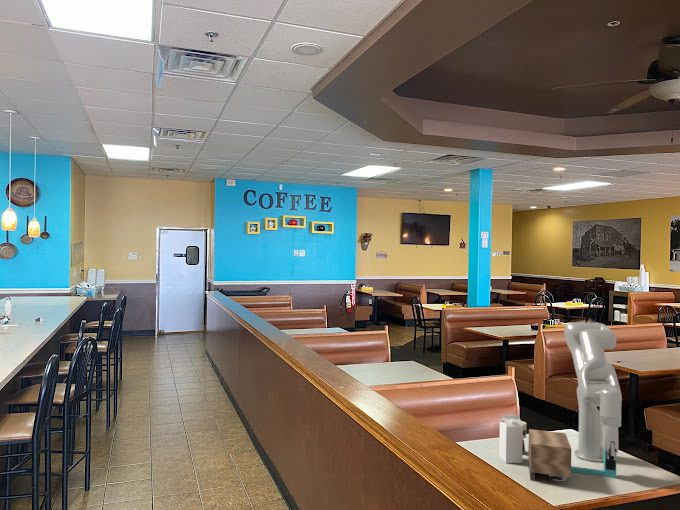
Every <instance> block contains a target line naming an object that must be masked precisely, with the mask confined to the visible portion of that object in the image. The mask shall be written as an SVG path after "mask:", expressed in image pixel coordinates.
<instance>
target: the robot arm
mask: <svg viewBox="0 0 680 510" xmlns="http://www.w3.org/2000/svg"><path fill="white" fill-rule="evenodd" d="M563 333H564V334H563V335H564V339H565V344H566V345H567V347H568V349H569V351H570V353H571V356H572V360H573V366H574V370H575V371H574V372H575V374H576V377H577V385H578V386H577V387H576V397H577V404H578V405H577V406H578V448H577V449H575V450H574V456H575V457H577V458H579V459H582V460H584V461H588V462H599V463H601V462H604V451H605V452H606V451H607V459H606V469H608V470H615V469H616V470H617V459H616V460H615V452H616V454H617V453H619V428H620V427H622V401H623V398H622V391H621V386H620V384H619V380H618V375H617V373H616V369H615V367H614V365H613V364H611V362H608V361H607V357H606V353H605V349H606V350H613V349H614V348H615V347H616V345H617V337H616V335H615V333H614V331H613V330H612V329H611V328H610V327H608V326H607V325H606V324H604V323H600V322H580V321H575V322H569V323H568V324H566V325H565V327H564V331H563ZM598 407H599V409H598ZM609 450H611V451H609ZM609 453H611V454H609Z"/></svg>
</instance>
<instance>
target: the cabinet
mask: <svg viewBox="0 0 680 510" xmlns="http://www.w3.org/2000/svg"><path fill="white" fill-rule="evenodd" d="M571 466H572V445H571V444H570V441H569V438H568V436H567V434H566V433H565V432H559V431H558V432H557V431H548V430H541V429H540V430H539V429H532V428H529V429H528V473H529V479H530V481H533V482H535V480H536V479H535V478H536V476H535V475H536V474H535V473H537V474H544V475H548V476H549V475H557V476H564V477H566V478H572V471H571Z"/></svg>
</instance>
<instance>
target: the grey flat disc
mask: <svg viewBox="0 0 680 510" xmlns="http://www.w3.org/2000/svg"><path fill="white" fill-rule="evenodd" d="M548 479H549V480H550V481H552V482H554V483H560V484H563V483H566V482H567V477H564V476H557V475H549V474H548Z"/></svg>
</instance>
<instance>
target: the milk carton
mask: <svg viewBox="0 0 680 510" xmlns="http://www.w3.org/2000/svg"><path fill="white" fill-rule="evenodd" d="M520 416H521V415H520V414H511V413H510V414H507V413H506V414H502V418H500V419H501V420H500V421H499V440H498V443H499V445H498V446H499V447H498V453H499V454H498V455H499V456H498V457H499V458H500V459H501V460H502V461H503V462H504V463H505V464H523V453H522V451H523V440H524V438H523V425H522V423H521V421H522V420H521V418H520Z"/></svg>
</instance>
